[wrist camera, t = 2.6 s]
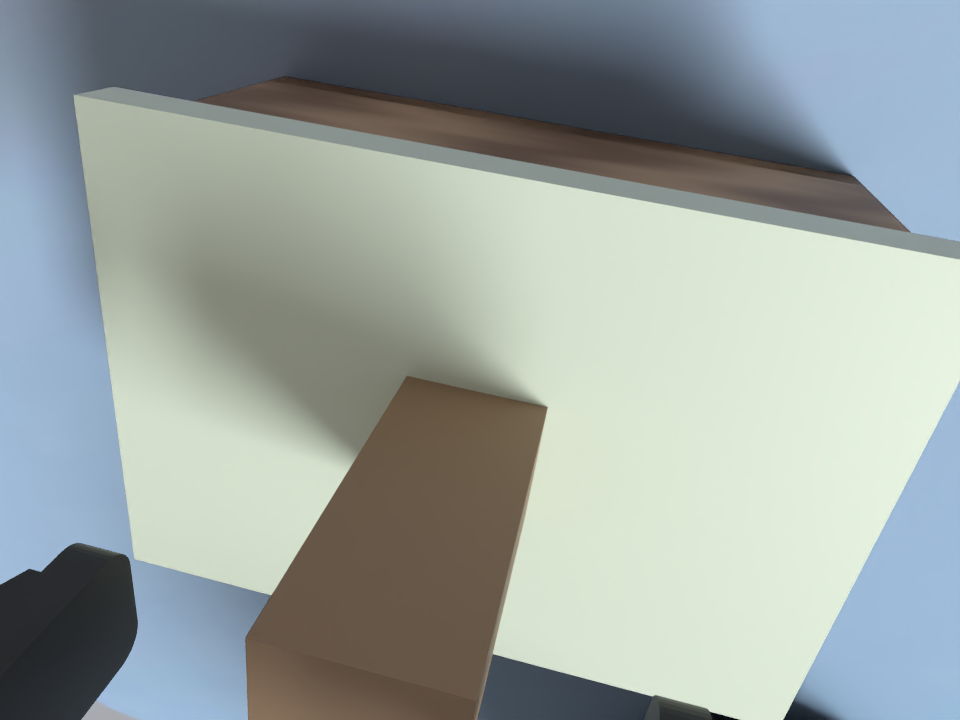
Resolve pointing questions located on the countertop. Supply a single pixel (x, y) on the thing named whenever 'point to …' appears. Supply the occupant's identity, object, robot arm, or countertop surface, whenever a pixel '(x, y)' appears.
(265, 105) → the egg box
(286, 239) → the lid
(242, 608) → the countertop surface
